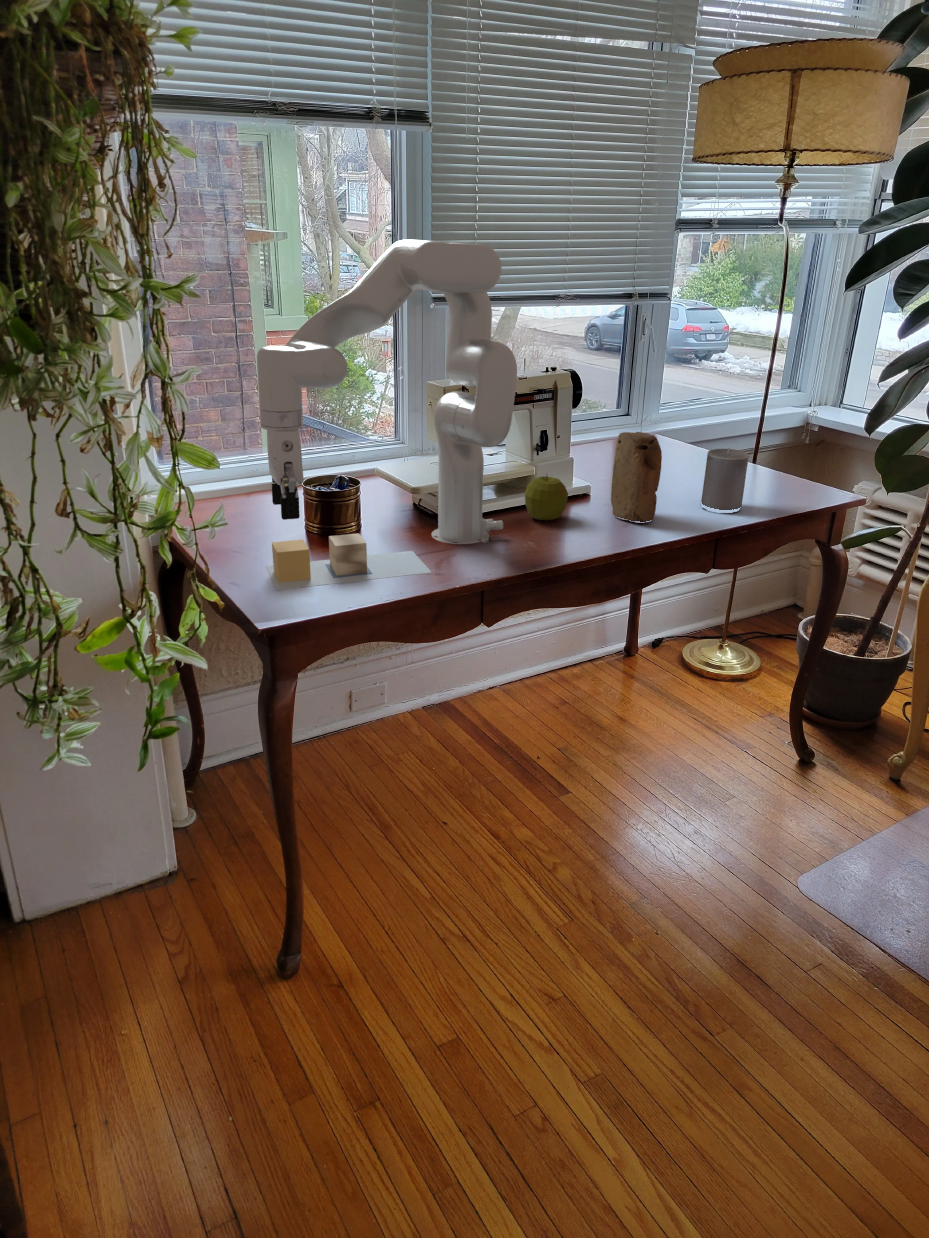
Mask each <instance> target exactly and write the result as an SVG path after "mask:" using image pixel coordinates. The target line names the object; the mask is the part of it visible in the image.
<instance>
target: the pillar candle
mask: <svg viewBox="0 0 929 1238" xmlns="http://www.w3.org/2000/svg"><path fill="white" fill-rule="evenodd" d="M749 457H750V454H748V453H747V452H746V451H743V450H739V449H738V450H737V449H733V448H729V447H728V448H715V449H711V450H708V451H707V455H706V464H705V470H704V478H703V484H702V485H703V486H702V494H701V501H700V502H702V504H703V505H705V506H707V507H710V508H714V509H719V510H732V509H733V510H734V509H738V508H740V507H741V508H742V506H743V499H744V491H745V485H746V478H747V471H748V464H749Z"/></svg>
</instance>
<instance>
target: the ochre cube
mask: <svg viewBox="0 0 929 1238" xmlns="http://www.w3.org/2000/svg"><path fill="white" fill-rule="evenodd" d="M271 548H272V549H271V550H272V560H273V561H272V564H273V565H272V566H274V573H275V575H276V577H277V579H278V581H279V583H281V582H290V581H299V580H308V579H311V572H310V562H311V559H310V556H311V555H310V554H311V553H310V548H309V546H308V544H307V543H306V542H305V540H304V539H302V538H301V539H293V540H292V539H291V540H283V541H273V542H271Z"/></svg>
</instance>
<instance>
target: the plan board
mask: <svg viewBox="0 0 929 1238" xmlns="http://www.w3.org/2000/svg"><path fill="white" fill-rule="evenodd" d="M265 567H266V570H267V572H268V574H269V576H270V579H271V580H272V583H273V584H274V587H275V589H276V591H283V590H290V589H300V588H307V587H308V588H310V587H316V586H325V585H326V586H327V585H334V584H345V583H353V582H361V581H370V580H379V579H380V580H381V579H387V578H388V579H389V578H396V577H404V576H405V577H406V576H413V575H421V574H422V575H423V574H431V573H433V572H432V571H431V569H429V568H428V566H427V565H426V564H425V563H424V562H423V560H421V558H420V557H418V556H417V554H416V553H415V552H414V551H413V550H407V551H400V552H399V551H397V552H389V553H379V554H369V555H368V554H367V572H366V573H357V574H348V575H339V576H337V575H336V574H335V572H334V571H333V569H332V568H331V566H330V559H320V560H312V561H311V560H310V572H311V579H308V580H299V581H290V582H281V583H279V581H278V579H277V577H276V575H275V573H274V566H273V565H266V566H265Z"/></svg>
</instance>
